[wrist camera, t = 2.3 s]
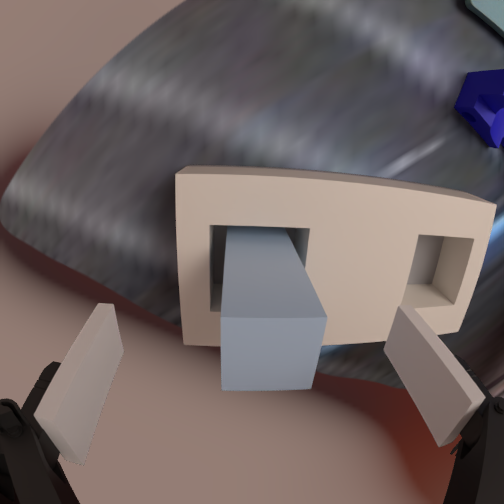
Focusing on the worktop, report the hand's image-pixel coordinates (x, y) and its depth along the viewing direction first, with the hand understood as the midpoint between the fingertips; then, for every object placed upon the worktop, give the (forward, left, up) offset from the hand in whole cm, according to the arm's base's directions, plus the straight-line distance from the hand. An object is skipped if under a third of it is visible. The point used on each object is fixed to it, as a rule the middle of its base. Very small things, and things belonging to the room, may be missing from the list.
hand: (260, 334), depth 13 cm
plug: (0, 0, -11) cm, 11 cm away
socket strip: (-7, 0, -12) cm, 14 cm away
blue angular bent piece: (-24, -13, -12) cm, 29 cm away
